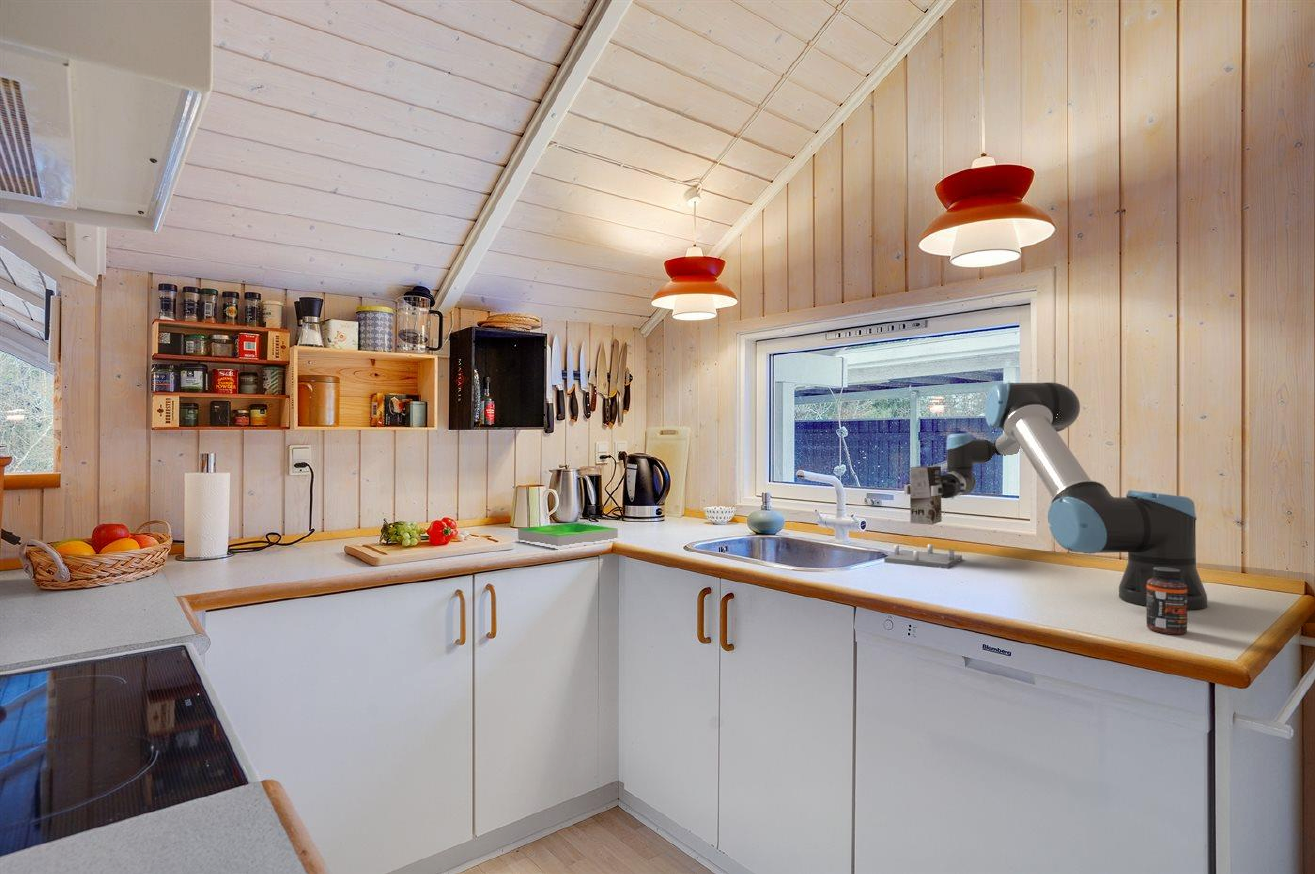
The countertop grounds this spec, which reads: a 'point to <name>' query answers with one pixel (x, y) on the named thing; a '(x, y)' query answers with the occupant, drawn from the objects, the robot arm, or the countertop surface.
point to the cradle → (923, 557)
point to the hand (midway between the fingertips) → (918, 490)
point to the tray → (567, 533)
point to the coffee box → (924, 495)
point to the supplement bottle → (1167, 602)
